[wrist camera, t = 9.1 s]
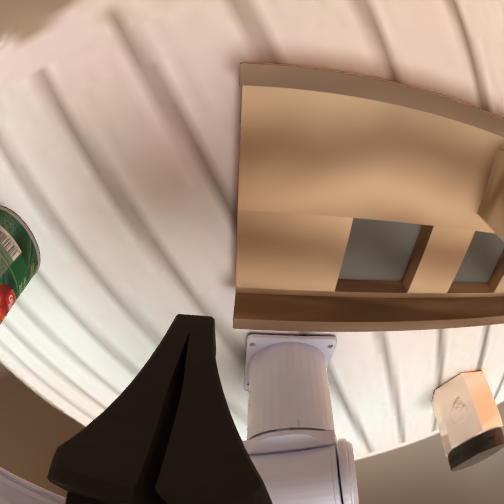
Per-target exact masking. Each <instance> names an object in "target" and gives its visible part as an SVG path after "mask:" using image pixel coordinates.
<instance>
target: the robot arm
mask: <svg viewBox="0 0 504 504" xmlns="http://www.w3.org/2000/svg"><path fill="white" fill-rule="evenodd" d="M336 343H337V339H336V337H333V336H281V335H256V334H251V335H249V336H248V337H247V348H246V364H245V381H244V390H246V391H249V399H248V425H247V440H246V441H242V440H241V438H240V435H239V433H238V431H237V429H236V426H235V424H234V421H233V419H232V416H231V414H230V411H229V408H228V405H227V402H226V399H225V396H224V393H223V389H222V385H221V382H220V378H219V374H218V369H217V364H216V358H215V357H216V341H215V322H214V318H212V317H210V316H197V315H184V314H178V315H177V316H176V317H175V319H174V321H173V323H172V324H171V326H170V328H169V330H168V331H167V333H166V335H165V336H164V338H163V339H162V341H161V342H160V344H159V345H158V347H157V348H156V350H155V351H154V353H153V354H152V356H151V357H150V359H149V360H148V361H147V363H146V364H145V365H144V367H143V368H142V369H141V371H140V372H139V373H138V375H137V376H136V377H135V378H134V380H133V381H132V382H131V383H130V384H129V386H128V387H127V388H126V389H125V390H124V391H123V392H122V393H121V395H120V396H119V397H118V398H117V399H116V400H115V401H114V402H113V403H112V404H111V405H110V406H109V407H108V408H107V409H106V410H105V411H104V412H103V413H101V414H100V415H99V416H98V417H97V418H96V419H94V420H93V421H92V422H91V423H90V424H89V425H87V426H86V427H85V428H84V429H82V430H81V431H80V432H79V433H77V434H76V435H74V436H73V437H72V438H70V439H69V440H67V441H66V442H64V443H63V444H61V445H60V446H59V447H57V450H56V452H55V454H54V456H53V459H52V462H51V466H50V469H49V473H48V476H47V478H48V480H49V481H50V482H52V483H53V484H56V485H57V486H59V487H61V488H63V489H64V490H66V491H68V493H67V498H65V497H62V496H60V495H57V494H55V493H52V492H50V491H48V490H45V489H43V488H41V487H38V486H36V485H34V484H32V483H30V482H28V481H26V480H24V479H22V478H20V477H17V476H16V475H14V474H12V473H10V472H8V471H6V470H4V469H3V468H1V467H0V504H359V500H358V489H357V479H356V471H355V463H354V455H353V448H352V444H351V443H349V442H348V441H347V442H346V439H339V440H338V442H337V439H336V435H335V431H334V423H333V414H332V406H331V399H330V391H329V384H328V377H327V366H328V364H329V361H330V359H331V356H332V354H333V351H334V349H335V346H336Z"/></svg>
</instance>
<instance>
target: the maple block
mask: <svg viewBox="0 0 504 504" xmlns="http://www.w3.org/2000/svg"><path fill="white" fill-rule="evenodd" d="M477 214H478V215H479V216H480V217H481V218H482V219H483V220H484V221H485V222H486V223H487V225H488V226H489V227H490V228H491V229H492V230H493V231H494V232H495V233H496V234H497V235H498V237H499V238H500V239H501V240H502V241H503V242H504V150H502V149H499V148H497V151H496V155H495V159H494V162H493V166H492V169H491V173H490V176H489V179H488V183H487V186H486V189H485V192H484V195H483V198H482V201H481V204H480V206H479V209H478V212H477Z"/></svg>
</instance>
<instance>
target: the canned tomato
mask: <svg viewBox="0 0 504 504" xmlns="http://www.w3.org/2000/svg"><path fill="white" fill-rule="evenodd" d="M39 266H40V253H39V249H38V245H37V243H36V241H35V238H34V236H33V235H32V233H31V231H30V229H29V228H28V227H27V225H26V224H25V223H24V222H23V221H22V220H21V218H20V217H18V216H17V215H16V214H15V213H14V212H12V211H10V210H9V209H7V208H4V207H2V206H0V324H1V323H2V321H3V319H4V318H5V317H6V315H7V313H8V312H9V310H10V309H11V307H12V305H13V304H14V303H15V301H16V299H17V298H18V297H19V296H20V294H21V293H22V291H23V290H24V288H25V287H26V286H27V284H28V283H29V281H30V280H31V278H32V277H33V276H34V275H35V274H36V272H37V271H38V269H39Z"/></svg>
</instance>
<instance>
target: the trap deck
mask: <svg viewBox="0 0 504 504" xmlns="http://www.w3.org/2000/svg"><path fill="white" fill-rule="evenodd" d="M239 85H242V106H241V130H240V157H239V187H238V219H237V257H236V294H235V305H234V316H233V328H235V329H253V330H276V331H314V332H368V331H405V330H427V329H444V328H458V327H471V326H482V325H492V324H502V323H504V242H503V241H502V240H501V239H500V238H499V237H498V235H497V234H496V233H495V232H494V231H493V230H492V229H491V228H490V227H489V226H488V225H487V223H486V222H485V221H484V220H483V219H482V218H481V217H480V216H479V215H478V214H477V212H478V209H479V206H480V204H481V201H482V198H483V195H484V192H485V189H486V186H487V183H488V179H489V176H490V173H491V169H492V166H493V162H494V159H495V155H496V151H497V148H499V149H502V150H504V118H502V117H500V116H498V115H495V114H493V113H490V112H488V111H485V110H483V109H480V108H477V107H475V106H472V105H469V104H467V103H464V102H461V101H458V100H455V99H452V98H449V97H446V96H443V95H440V94H436V93H433V92H430V91H426V90H423V89H419V88H416V87H412V86H408V85H404V84H400V83H396V82H392V81H388V80H383V79H379V78H374V77H369V76H364V75H359V74H353V73H348V72H342V71H335V70H329V69H322V68H314V67H306V66H297V65H286V64H274V63H258V62H243V63H241V64H240V84H239Z"/></svg>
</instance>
